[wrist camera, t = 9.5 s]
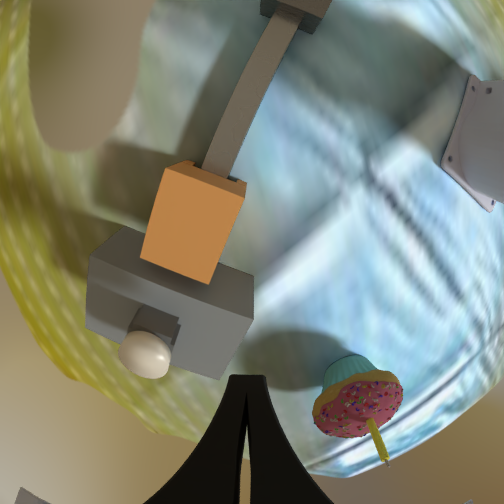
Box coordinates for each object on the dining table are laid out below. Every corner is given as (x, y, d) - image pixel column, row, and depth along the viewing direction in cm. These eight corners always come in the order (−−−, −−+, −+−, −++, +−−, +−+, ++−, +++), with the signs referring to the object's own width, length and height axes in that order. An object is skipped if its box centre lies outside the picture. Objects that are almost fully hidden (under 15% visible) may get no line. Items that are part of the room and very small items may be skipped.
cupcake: (312, 344, 22) (339, 471, 11) (397, 334, 22) (449, 436, 11) (302, 399, 26) (315, 499, 15) (374, 390, 26) (403, 477, 15)
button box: (122, 224, 18) (70, 267, 12) (253, 276, 19) (253, 341, 13) (110, 289, 20) (71, 342, 14) (224, 334, 22) (216, 400, 15)
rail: (271, -6, 11) (274, -26, 9) (322, 14, 12) (333, -3, 9) (158, 259, 19) (145, 278, 16) (204, 277, 19) (197, 298, 17)
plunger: (137, 303, 14) (120, 334, 12) (183, 321, 15) (172, 355, 12) (131, 336, 15) (116, 366, 13) (172, 352, 16) (162, 384, 13)
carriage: (187, 159, 16) (165, 167, 12) (246, 182, 16) (244, 198, 12) (163, 230, 18) (139, 257, 14) (218, 251, 18) (208, 284, 14)
